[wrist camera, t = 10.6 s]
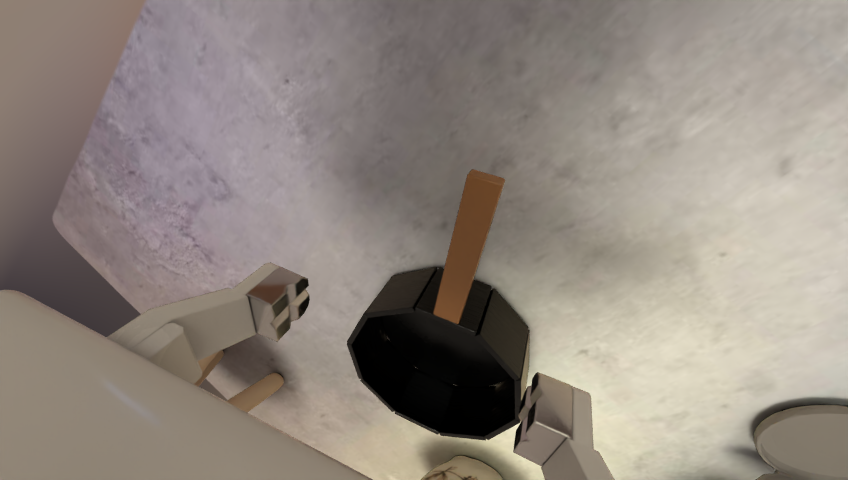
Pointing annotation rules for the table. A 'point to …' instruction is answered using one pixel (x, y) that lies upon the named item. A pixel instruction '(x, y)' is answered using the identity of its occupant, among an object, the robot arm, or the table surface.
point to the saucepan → (448, 336)
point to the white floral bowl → (463, 470)
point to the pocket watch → (805, 443)
